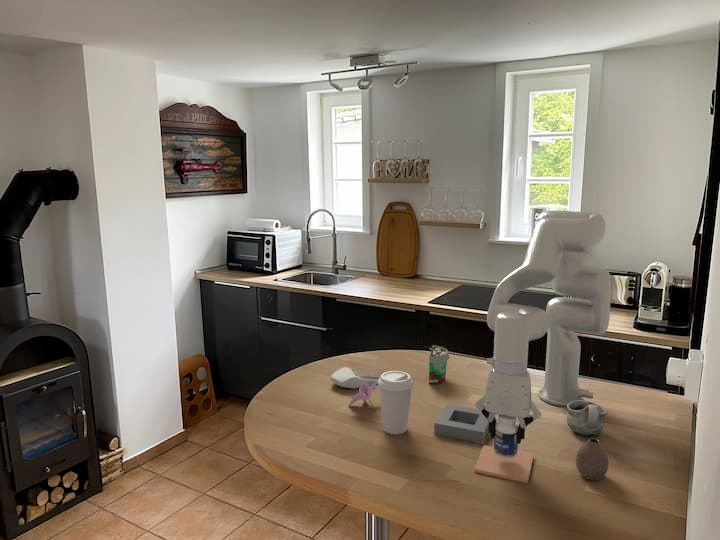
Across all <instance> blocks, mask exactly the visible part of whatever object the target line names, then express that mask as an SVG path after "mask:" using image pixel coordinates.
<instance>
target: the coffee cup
mask: <svg viewBox="0 0 720 540" xmlns="http://www.w3.org/2000/svg"><path fill="white" fill-rule="evenodd" d="M380 375H381V377H380V378H379V380H378V384H377V385H378V386H380V387H379V394H380V405H381V407H380V408H381V420H382V430H383V431H384V432H385V433H387V434H390V435H401V434H404V433H406V432H407V430H408V422H409V414H410V407H411V406H410V405H411V404H410V403H411V396H412V388H413V387H414V384H415V383H414V380H413V379H412V376H411V375H410V373H407V372H404V371H400V370H389V371H385V372H383V373H382V374H380Z"/></svg>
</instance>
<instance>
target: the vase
mask: <svg viewBox="0 0 720 540" xmlns="http://www.w3.org/2000/svg"><path fill="white" fill-rule="evenodd" d="M575 455H576V456H575V465H576V470H577V471H578V473H579V474H580V475H581V476H582V477H583V478H584V479H586V480H589V481H599V480H601V479H603V478H605V476H606V475H607V473H608V471H609V464H610V463H609V455H608V453H607V451H606V449H604V447H603V445H602V444H601V441H600V440H599V439H598V438H596V437H595V438H594V437H589V438H588V439H587V441H586V442H585V443H583V444H582V445H581V446H580V447H579V448H578V450H577V452H576V454H575Z"/></svg>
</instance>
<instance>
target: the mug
mask: <svg viewBox="0 0 720 540" xmlns="http://www.w3.org/2000/svg"><path fill="white" fill-rule="evenodd" d="M566 407H567V408H566V409H567V411H568V412H567V416H566V424H567V427H569V429H571V430H572V431H573V432H575V433H577V434H579V435H583V436H593V435H595V436H596V435H597V434H599V433H601V431H602V430H603V429H604V427H605V421H606V420H605V417H606V415H607V410H606V409H605V407H603V406H602V405H600V404H598V403H595V402H592V401H589V400H583V399H582V400H578V401H573V402H571V403H569V404H567V406H566Z"/></svg>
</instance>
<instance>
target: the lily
mask: <svg viewBox="0 0 720 540" xmlns="http://www.w3.org/2000/svg"><path fill="white" fill-rule="evenodd" d="M377 383H378V381H377V382H375V383H373V384H370V385H369V384H368V383H363V384H362V385H361V387H358V389H359V390H358V393H356V394H354V395H353V396H352V397H350V398H349V399H350V400H351V401H350V402H349V404H348V407H350V406H352V405H353V404H354V403H356V402H358V401H360V400H361V401H363V402H366V401H369V404H370V406H371V408H372V410H373V411H374V412H375V407H374V405H373V403H372V402H371V400H370V398H371V395H372V392H373V391H374V390H377V389H379V388H380V386H379V385H378V384H377Z"/></svg>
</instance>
